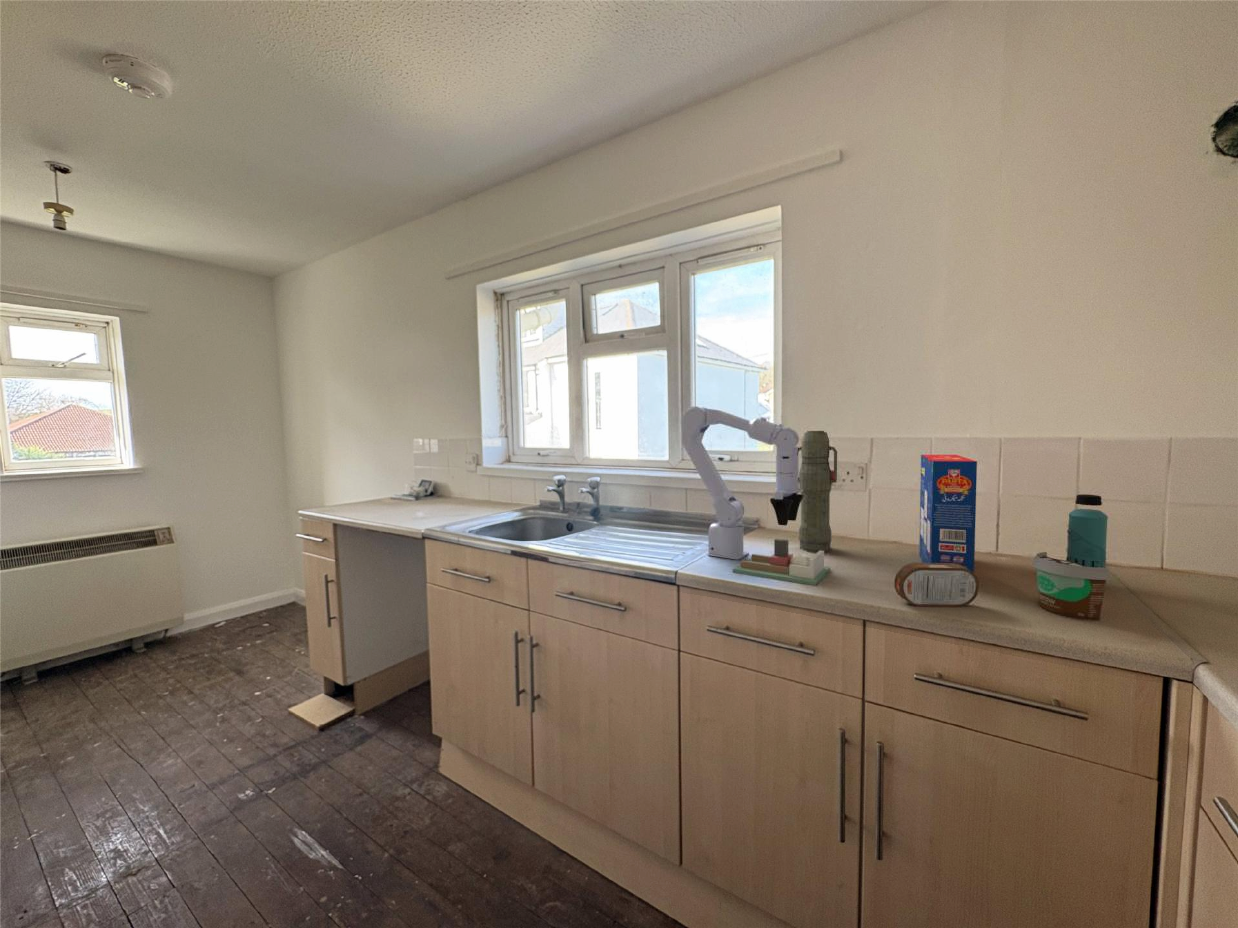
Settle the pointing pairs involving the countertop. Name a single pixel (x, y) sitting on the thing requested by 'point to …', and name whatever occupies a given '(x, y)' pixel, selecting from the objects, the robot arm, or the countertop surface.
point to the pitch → (773, 570)
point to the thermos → (815, 491)
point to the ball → (798, 560)
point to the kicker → (781, 553)
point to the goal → (809, 566)
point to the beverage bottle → (1087, 533)
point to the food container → (1070, 587)
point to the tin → (936, 584)
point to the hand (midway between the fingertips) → (787, 522)
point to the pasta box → (948, 510)
